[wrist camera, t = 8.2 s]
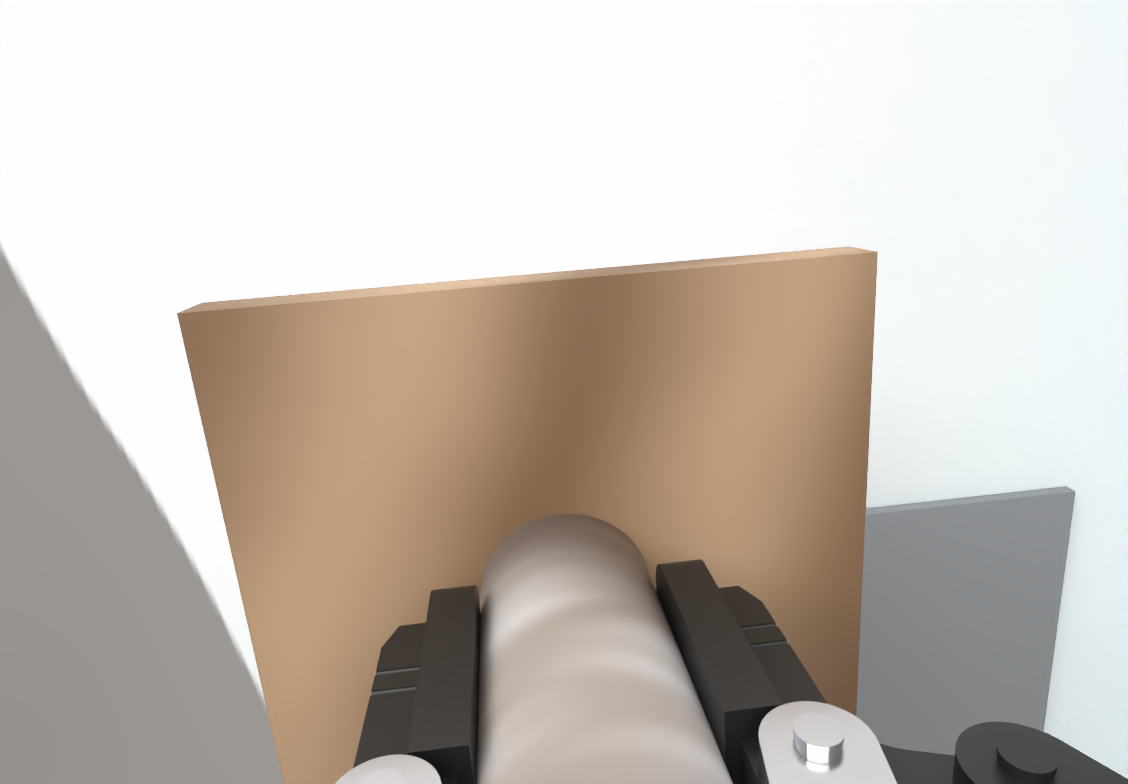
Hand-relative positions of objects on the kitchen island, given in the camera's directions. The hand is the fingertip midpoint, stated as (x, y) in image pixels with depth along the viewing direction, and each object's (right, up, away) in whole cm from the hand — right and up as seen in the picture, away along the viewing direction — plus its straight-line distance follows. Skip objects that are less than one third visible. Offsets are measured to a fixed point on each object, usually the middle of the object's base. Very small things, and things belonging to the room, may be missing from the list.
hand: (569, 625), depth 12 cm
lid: (0, +1, +2) cm, 2 cm away
